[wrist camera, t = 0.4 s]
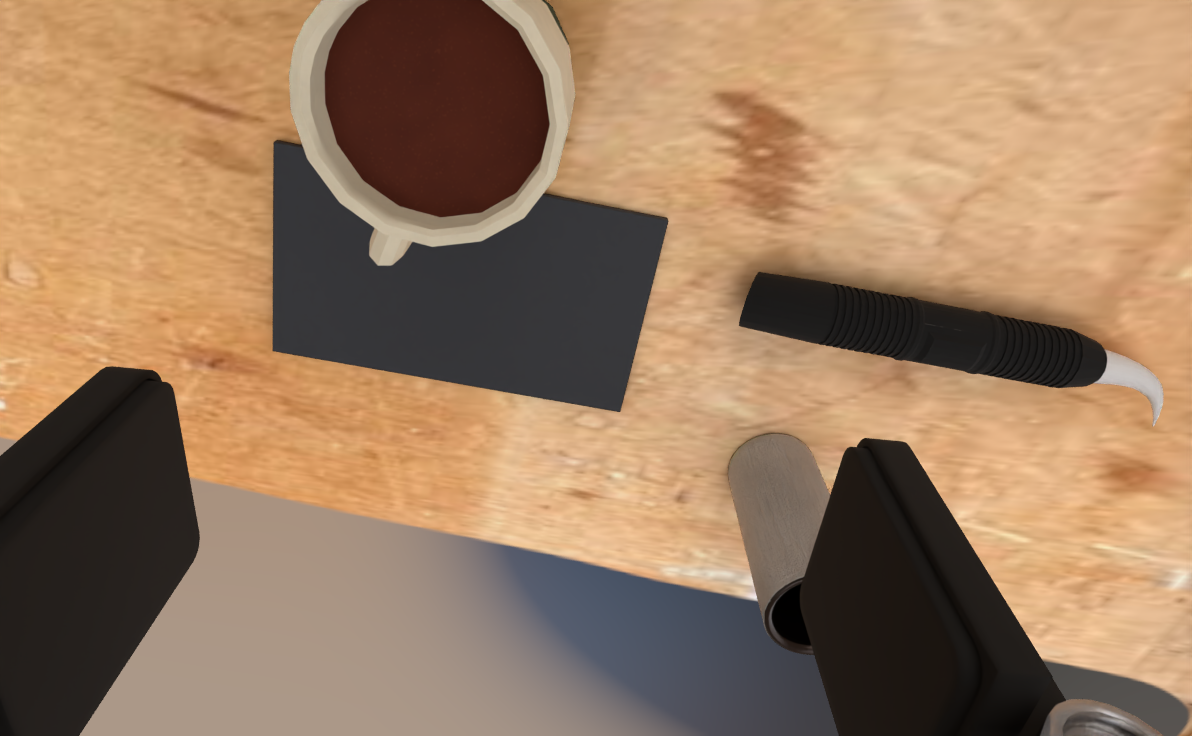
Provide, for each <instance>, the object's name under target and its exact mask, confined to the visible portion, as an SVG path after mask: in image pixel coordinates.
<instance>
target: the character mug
mask: <svg viewBox="0 0 1192 736" xmlns="http://www.w3.org/2000/svg"><path fill="white" fill-rule="evenodd" d="M289 80H290V109H291V113H292V116H293V119H294V122H295V125H296V127H297V130H298V133H299V136H300V139H301V142H302V145H303V148H304V151H305V154H306V157H307V159H308V161H309V162H310V163H311V165H312V166H313V167H314V169H315V170H316V171H317V173H318V174H319V175H320V177H321V178H322V179H323V181H324V182H325V184H326V185H327V186H328V188H329V189H330V190H331V192H332V193H333V194H334V196H335V197H336V198H337V200H338V201H339V202H340V203H341V204H342V205H344V206H345V207H346V208H348V209H349V210H351V211H352V212H353V213H355V214H356V215H358V216H359V217H360V218H362V219H363V220H364V221H366V222H367V223H369V224H370V225H371V226H373V227H374V231H373V233H372V236H371V239H370V247H369V256H370V257H371V258H372V259H373V260H374V262H375V263H376V264H377V265H378V266H391V265H393V264H394V263H395V262H397V261H398V260H399V259H400V258H401V257H402V256H403V255H404V254H405V252H406V251H407V249H408V248H409V246H410V245H411V243H412V242H416V243H420V244H423V245H427V246H431V247H435V246H444V245H453V244H462V243H471V242H480V241H483V240H485V239H487V238H488V237H490V236H492V235H494V234H496V233H498V232H499V231H501V230H503V229H505V228H507V227H509V226H510V225H512V224H514V223H516V222H518V221H520V220H521V219H523V218H525V216H526V215H527V214H528V212H529V211H530V210H531V209H532V207H533V206H534V205H535V203H536V202H537V201H538V200H539V198H540V197H541V196H542V194H543V193H544V192H545V191H546V189H547V188H548V187H549V186H550V184H551V183H552V182H553V180H554V179H555V177H556V175H557V171H558V168H559V164H560V160H561V156H562V152H563V148H564V144H565V141H566V137H567V133H568V129H569V125H570V121H571V115H572V110H573V105H574V99H575V87H574V79H573V71H572V63H571V54H570V48H569V43H568V41H567V39H566V36H565V34H564V32H563V30H562V27H561V25H560V23H559V21H558V18H557V16H556V14H555V11H554V9H553V7H552V6H551V5H550V4H549V3H547V2H546V1H545V0H321V2H320V3H319V4H318V6H317V7H316V8H315V9H314V11H313V12H312V13H311V15H310V16H309V17H308V19H307V20H306V21H305V23H304V25H303V27H302V29H301V31H300V34H299V36H298V38H297V40H296V43H295V45H294V48H293V54H292V60H291V65H290V71H289Z"/></svg>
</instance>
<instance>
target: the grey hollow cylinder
mask: <svg viewBox="0 0 1192 736" xmlns="http://www.w3.org/2000/svg"><path fill="white" fill-rule="evenodd" d="M728 478H729V484H730V489H731V493H732V497H733V501H734V505H735V509H736V513H737V517H738V521H739V525H740V529H741V534H742V538H743V542H744V546H745V550H746V554H747V558H748V562H749V566H750V570H751V574H752V579H753V583H754V587H755V591H756V595H757V599H758V603H759V607H760V611H761V615H762V619H763V623H764V627H765V629H766V631H767V633H768V635H769V636H770V637H771V639H772V640H773V641H774V642H776V643H777V644H778V645H780V646H781V647H783V648H785V649H787V650H789V651H792V652H796V653H800V654H807V655H808V654H809V655H814V652H813V649H812V645H811V642H810V639H809V636H808V632H807V629H806V626H805V622H804V619H803V616H802V613H801V608H800V589H801V585H802V581H803V578H804V575H805V572H806V569H807V566H808V563H809V560H810V556H811V553H812V550H813V547H814V544H815V541H816V538H817V535H818V532H819V529H820V526H821V523H822V519H823V516H824V513H825V510H826V507H827V504H828V501H829V498H830V494H829V491H828V489H827V487H826V484H825V482H824V480H823V477H822V475H821V473H820V470H819V468H818V466H817V463H816V461H815V459H814V457H813V455H812V453H811V451H810V450H809V448H808V447H807V446H806V445H805V444H804V443H803V442H802V441H800V440H798V439H796V438H794V437H792V436H789V435H784V434H766V435H762V436H758V437H756V438H753V439H751V440H749V441H748V442H746V443H745V444H743V445H742V446H741V447H740V448H739V449H738V450H737V451H736V452H735V454H734V455H733V457H732V458H731V461H730V463H729V467H728Z"/></svg>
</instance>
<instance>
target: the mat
mask: <svg viewBox="0 0 1192 736" xmlns="http://www.w3.org/2000/svg"><path fill="white" fill-rule="evenodd" d="M667 224H668V219H667V218H664V217H659V216H654V215H649V214H644V213H639V212H634V211H629V210H624V209H619V208H614V207H609V206H604V205H599V204H594V203H589V202H584V201H579V200H574V199H569V198H564V197H559V196H554V195H549V194H544V193H543V194H542V196H541V197H540V198H539V200H538V201H537V202H536V203H535V205H534V206H533V207H532V209H531V210H530V211H529V212H528V214H527V215H526V216H525V218H523V219H521V220H520V221H518V222H516V223H514V224H512V225H510V226H509V227H507V228H505V229H503V230H501V231H499V232H498V233H496V234H494V235H492V236H490V237H488V238H487V239H485V240H483V241H480V242H471V243H462V244H453V245H444V246H435V247H431V246H427V245H423V244H420V243H416V242H412V243H411V245H410V246H409V248H408V249H407V251H406V252H405V254H404V255H403V256H402V257H401V258H400V259H399V260H398V261H397V262H395V263H394V264H393V265H391V266H378V265H377V264H376V263H375V262H374V260H373V259H372V258H371V257H370V256H369V247H370V239H371V236H372V233H373V231H374V227H373V226H371V225H370V224H369V223H367V222H366V221H364V220H363V219H362V218H360V217H359V216H358V215H356V214H355V213H353V212H352V211H351V210H349V209H348V208H346V207H345V206H344V205H342V204H341V203H340V202H339V201H338V200H337V198H336V197H335V196H334V194H333V193H332V192H331V190H330V189H329V188H328V186H327V185H326V184H325V182H324V181H323V179H322V178H321V177H320V175H319V174H318V173H317V171H316V170H315V169H314V167H313V166H312V165H311V163H310V162H309V161H308V159H307V157H306V154H305V151H304V148H303V145H298V144H293V143H288V142H283V141H278V140H277V141H275V142H274V181H273V351H276V352H281V353H287V354H293V355H298V356H304V357H310V358H315V359H321V360H327V361H332V362H338V363H344V364H349V365H355V366H361V367H367V368H372V369H378V370H384V371H389V372H395V373H401V374H406V375H412V376H418V377H423V378H429V379H435V380H440V381H446V382H452V383H458V384H463V385H469V386H475V387H480V388H486V389H492V390H497V391H503V392H509V393H514V394H520V395H526V396H531V397H537V398H543V399H549V400H554V401H560V402H566V403H571V404H577V405H583V406H588V407H594V408H600V409H605V410H611V411H617V412H620V410H621V406H622V402H623V398H624V395H625V391H626V387H627V383H628V379H629V375H630V371H631V367H632V363H633V359H634V355H635V351H636V347H637V343H638V339H639V335H640V331H641V327H642V323H643V319H644V315H645V311H646V307H647V303H648V299H649V295H650V291H651V287H652V284H653V280H654V276H655V272H656V268H657V264H658V260H659V256H660V252H661V248H662V244H663V240H664V236H665V232H666V228H667Z"/></svg>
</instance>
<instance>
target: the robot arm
mask: <svg viewBox="0 0 1192 736" xmlns="http://www.w3.org/2000/svg"><path fill="white" fill-rule="evenodd" d="M199 540H200V537H199V529H198V523H197V517H196V512H195V506H194V500H193V495H192V489H191V484H190V478H189V473H188V467H187V461H186V456H185V450H184V445H183V439H182V433H181V428H180V422H179V417H178V411H177V406H176V400H175V394H174V391H173V388H172V386H171V385H170V384H169V383H167V382H162V380H161V378H160V376H159V375H158V373H156V372H155V371H153V370H144V369H133V368H123V367H105V368H104V369H102V370H100V371H99V372H98V373H97V374H96V375H94V376H93V377H92V378H91V379H90V380H89V381H87V382H86V383H85V384H84V385H83V386H82V387H80V388H79V389H78V390H77V391H76V392H75V393H73V394H72V395H71V396H70V397H69V398H68V399H66V400H65V401H64V402H63V403H62V404H61V405H59V406H58V407H57V408H56V409H55V410H53V411H52V412H51V413H50V414H49V415H48V416H46V417H45V418H44V419H43V420H42V421H41V422H39V423H38V424H37V425H36V426H35V427H34V428H32V429H31V430H30V431H29V432H28V433H27V434H25V435H24V436H23V437H22V438H21V439H20V440H18V441H17V442H16V443H15V444H14V445H13V446H11V447H10V448H9V449H8V450H7V451H6V452H4V453H3V454H2V455H1V456H0V736H79V735H80V733H81V732H82V730H83V729H84V727H85V726H86V724H87V723H88V721H89V720H90V718H91V717H92V715H93V714H94V712H95V710H96V709H97V707H98V706H99V704H100V703H101V701H102V700H103V698H104V697H105V695H106V694H107V692H108V691H109V689H110V688H111V686H112V685H113V683H114V681H115V680H116V678H117V677H118V675H119V674H120V672H121V671H122V669H123V667H124V666H125V665H126V663H127V662H128V660H129V659H130V657H131V656H132V654H133V653H134V651H135V649H136V648H137V646H138V645H139V643H140V642H141V640H142V639H143V637H144V636H145V634H146V633H147V631H148V630H149V628H150V627H151V625H152V624H153V622H154V621H155V619H156V618H157V616H158V614H159V613H160V611H161V610H162V608H163V607H164V605H165V604H166V602H167V601H168V599H169V598H170V596H171V595H172V593H173V592H174V590H175V589H176V587H177V586H178V584H179V583H180V581H181V579H182V578H183V576H184V575H185V573H186V572H187V570H188V569H189V567H190V566H191V564H192V563H193V561H194V559H195V557H196V554H197V551H198V547H199ZM800 608H801V613H802V616H803V619H804V622H805V626H806V629H807V632H808V636H809V639H810V642H811V645H812V649H813V652H814V655H815V659H816V662H817V665H818V668H819V672H820V675H821V678H822V681H823V685H824V688H825V691H826V695H827V698H828V701H829V704H830V708H831V711H832V714H833V718H834V721H835V724H836V728H837V731H838V734H839V736H1163V735H1161V734H1160V733H1159V732H1158V731H1157V730H1155V729H1154V728H1152V727H1150V726H1149V725H1147V724H1146V723H1145V722H1143V721H1141V720H1140V719H1138V718H1137V717H1135V716H1134V715H1132V714H1129V713H1127V712H1125V711H1123V710H1120V709H1118V708H1116V707H1114V706H1112V705H1108V704H1105V703H1101V702H1097V701H1093V700H1089V699H1080V700H1079V699H1070V700H1067V701H1066V699H1065V698H1064V696H1063V695H1062V693H1061V691H1060V690H1059V688H1058V687H1057V685H1056V683H1055V682H1054V680H1053V678H1052V675H1051V673H1050V672H1049V670H1048V669H1047V667H1046V665H1045V664H1044V662H1043V661H1042V659H1041V657H1040V656H1039V654H1038V653H1037V651H1036V649H1035V648H1034V646H1033V644H1032V643H1031V641H1030V640H1029V638H1028V636H1027V635H1026V633H1025V632H1024V630H1023V628H1022V627H1021V625H1020V624H1019V622H1018V620H1017V619H1016V617H1015V615H1014V614H1013V612H1012V611H1011V609H1010V607H1009V606H1008V604H1007V603H1006V601H1005V599H1004V598H1003V596H1002V595H1001V593H1000V591H999V590H998V588H997V586H996V585H995V583H994V582H993V580H992V578H991V577H990V575H989V574H988V572H987V570H986V569H985V567H984V566H983V564H982V562H981V561H980V559H979V558H978V556H977V554H976V553H975V551H974V549H973V548H972V546H971V545H970V543H969V541H968V540H967V538H966V537H965V535H964V533H963V532H962V530H961V529H960V527H959V525H958V524H957V522H956V520H955V519H954V517H953V516H952V514H951V512H950V511H949V509H948V508H947V506H946V504H945V503H944V501H943V500H942V498H941V496H940V495H939V493H938V492H937V490H936V488H935V487H934V485H933V483H932V482H931V480H930V479H929V477H928V475H927V474H926V472H925V471H924V469H923V467H922V466H921V464H920V463H919V461H918V459H917V458H916V456H915V454H914V453H913V451H912V450H911V448H910V447H909V445H908V444H907V443H905V442H901V441H891V440H880V439H870V438H864V439H862V440H861V441H860V442H859V444H858V445H857V447H849V448H847V449H846V451H845V453H844V455H843V458H842V461H841V464H840V467H839V470H838V473H837V476H836V479H835V482H834V485H833V489H832V492H831V495H830V498H829V501H828V504H827V507H826V510H825V513H824V516H823V519H822V523H821V526H820V529H819V532H818V535H817V538H816V541H815V544H814V547H813V550H812V553H811V556H810V560H809V563H808V566H807V569H806V572H805V575H804V578H803V581H802V585H801V589H800Z"/></svg>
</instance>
